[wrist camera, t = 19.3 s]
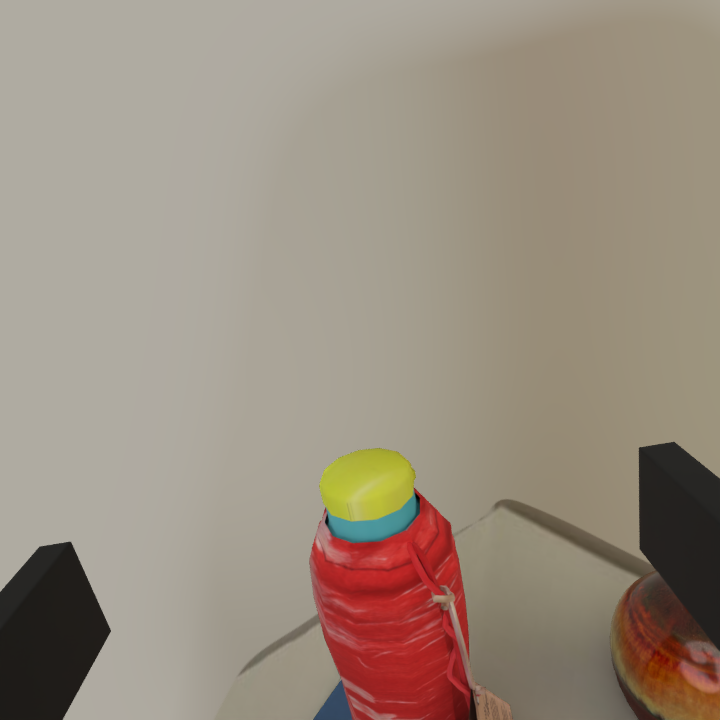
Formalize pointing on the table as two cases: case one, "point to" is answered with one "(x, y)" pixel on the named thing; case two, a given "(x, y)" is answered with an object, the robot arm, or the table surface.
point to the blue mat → (335, 706)
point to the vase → (663, 655)
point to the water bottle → (393, 596)
